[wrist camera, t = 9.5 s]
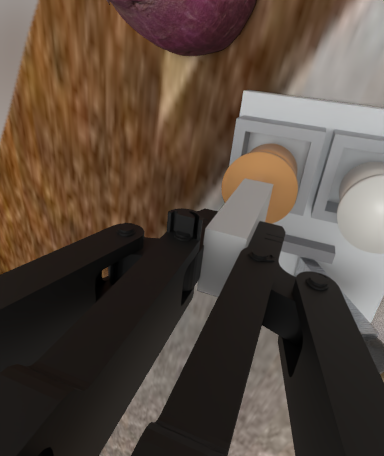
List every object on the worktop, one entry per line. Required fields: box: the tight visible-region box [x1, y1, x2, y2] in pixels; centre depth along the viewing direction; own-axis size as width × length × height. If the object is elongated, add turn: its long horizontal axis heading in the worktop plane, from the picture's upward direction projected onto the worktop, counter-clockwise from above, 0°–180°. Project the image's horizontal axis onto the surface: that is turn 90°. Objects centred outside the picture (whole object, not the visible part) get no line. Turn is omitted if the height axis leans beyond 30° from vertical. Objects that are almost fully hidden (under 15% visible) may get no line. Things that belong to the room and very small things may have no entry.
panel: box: [229, 90, 384, 323], centre depth 28 cm, size 15×18×4 cm
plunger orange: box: [222, 143, 298, 224], centre depth 22 cm, size 5×5×5 cm
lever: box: [295, 257, 384, 374], centre depth 25 cm, size 3×3×11 cm
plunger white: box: [337, 162, 384, 254], centre depth 21 cm, size 5×5×5 cm
